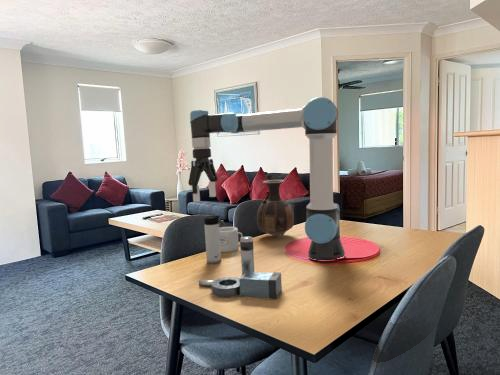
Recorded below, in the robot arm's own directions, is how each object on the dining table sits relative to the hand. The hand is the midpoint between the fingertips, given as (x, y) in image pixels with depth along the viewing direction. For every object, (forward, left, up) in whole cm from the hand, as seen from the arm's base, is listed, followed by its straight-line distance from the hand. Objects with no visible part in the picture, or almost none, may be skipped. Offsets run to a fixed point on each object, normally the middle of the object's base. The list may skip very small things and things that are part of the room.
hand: (205, 199), depth 158 cm
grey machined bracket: (-23, +29, -27) cm, 46 cm away
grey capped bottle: (-24, +19, -27) cm, 41 cm away
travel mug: (-2, -1, -28) cm, 28 cm away
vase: (-18, -46, -28) cm, 57 cm away
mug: (-2, -20, -28) cm, 34 cm away
